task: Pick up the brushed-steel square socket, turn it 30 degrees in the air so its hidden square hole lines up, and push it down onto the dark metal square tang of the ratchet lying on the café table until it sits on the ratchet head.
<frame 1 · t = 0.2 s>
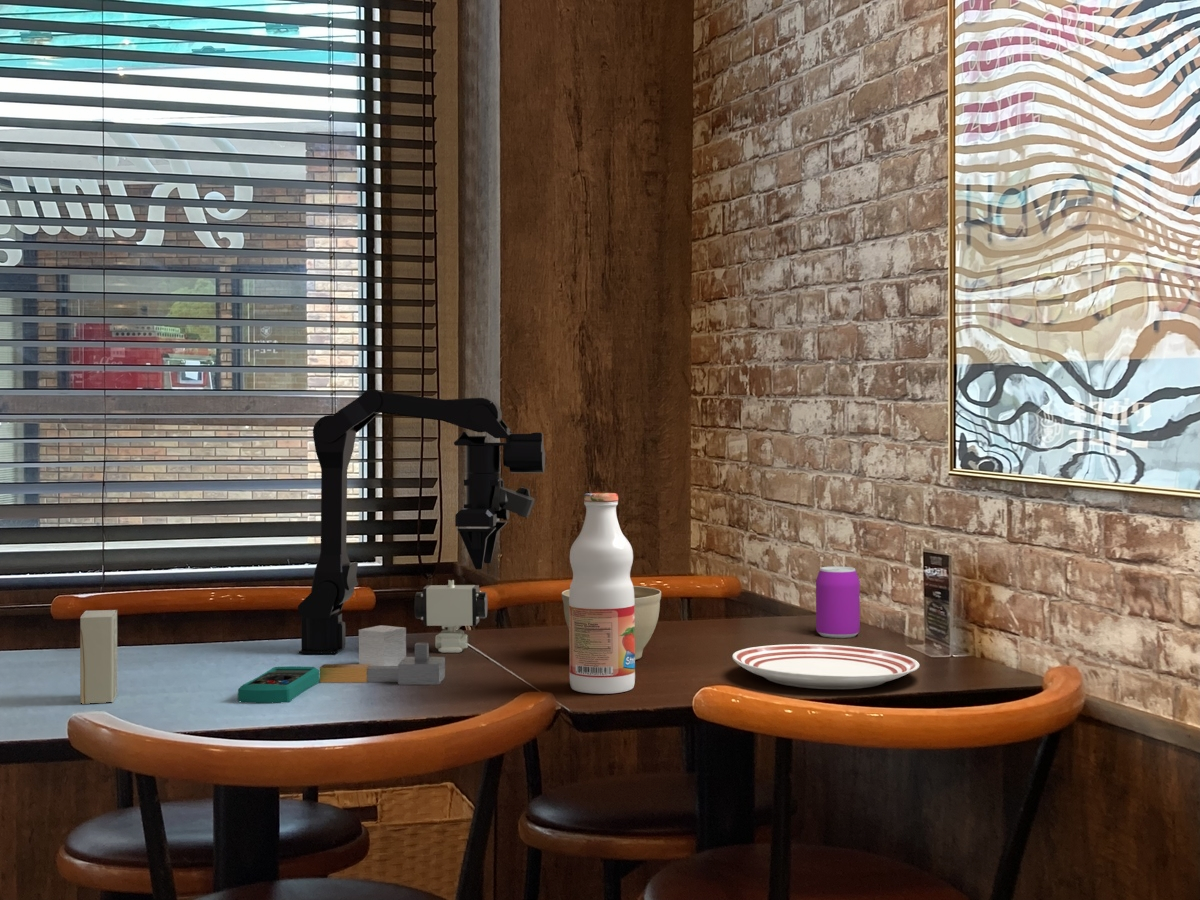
hand: (483, 566, 216), 14 cm above the table, fingers open, 9 cm apart
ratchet: (421, 680, 192), on the table
pneumatic valve: (452, 652, 217), on the table
digital multimeter: (280, 696, 184), on the table
fruit juice: (602, 689, 185), on the table
skincare box: (99, 701, 180), on the table
planter bowl: (611, 659, 209), on the table
dinner plate: (824, 679, 192), on the table
socket: (382, 666, 203), on the table
beverage can: (837, 636, 230), on the table
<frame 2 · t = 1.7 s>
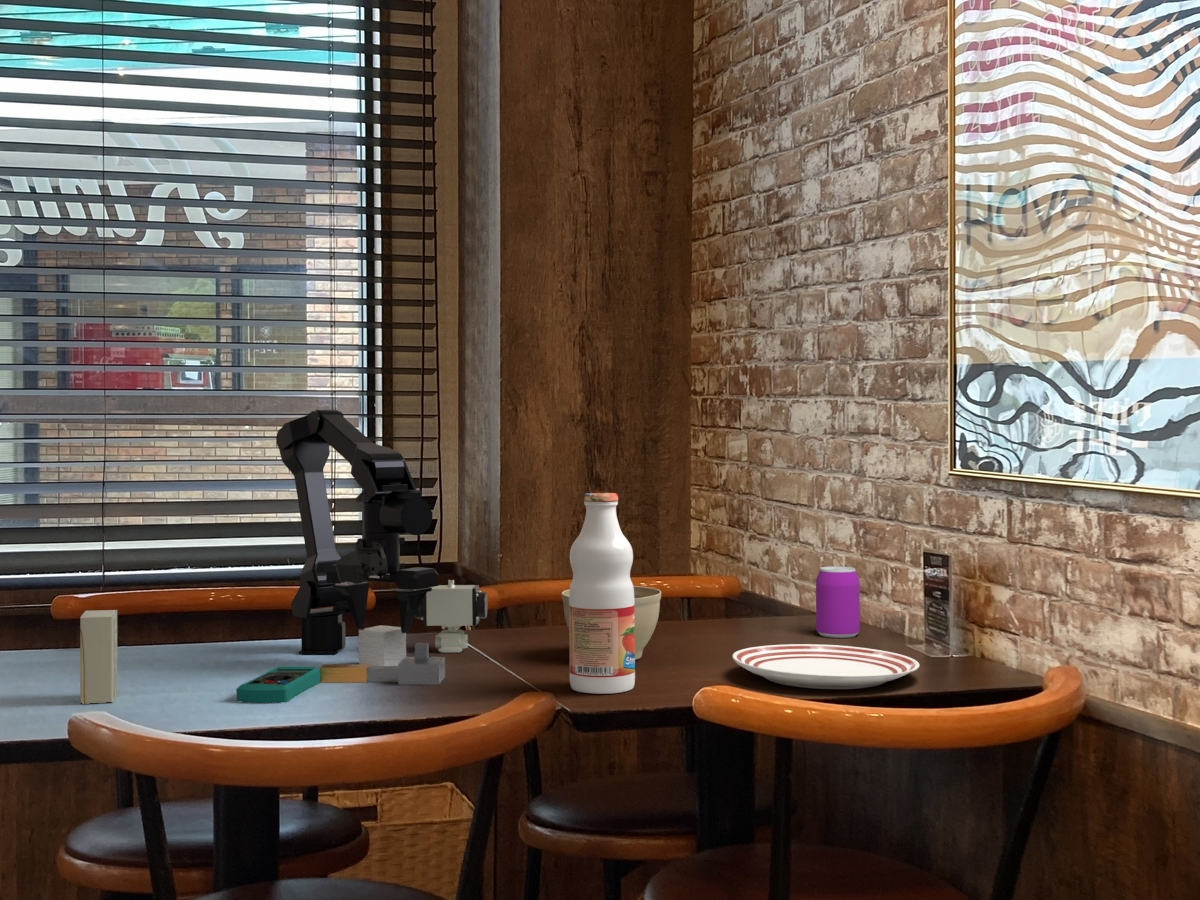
hand: (381, 630, 203), 6 cm above the table, fingers open, 9 cm apart
nothing on the table moved.
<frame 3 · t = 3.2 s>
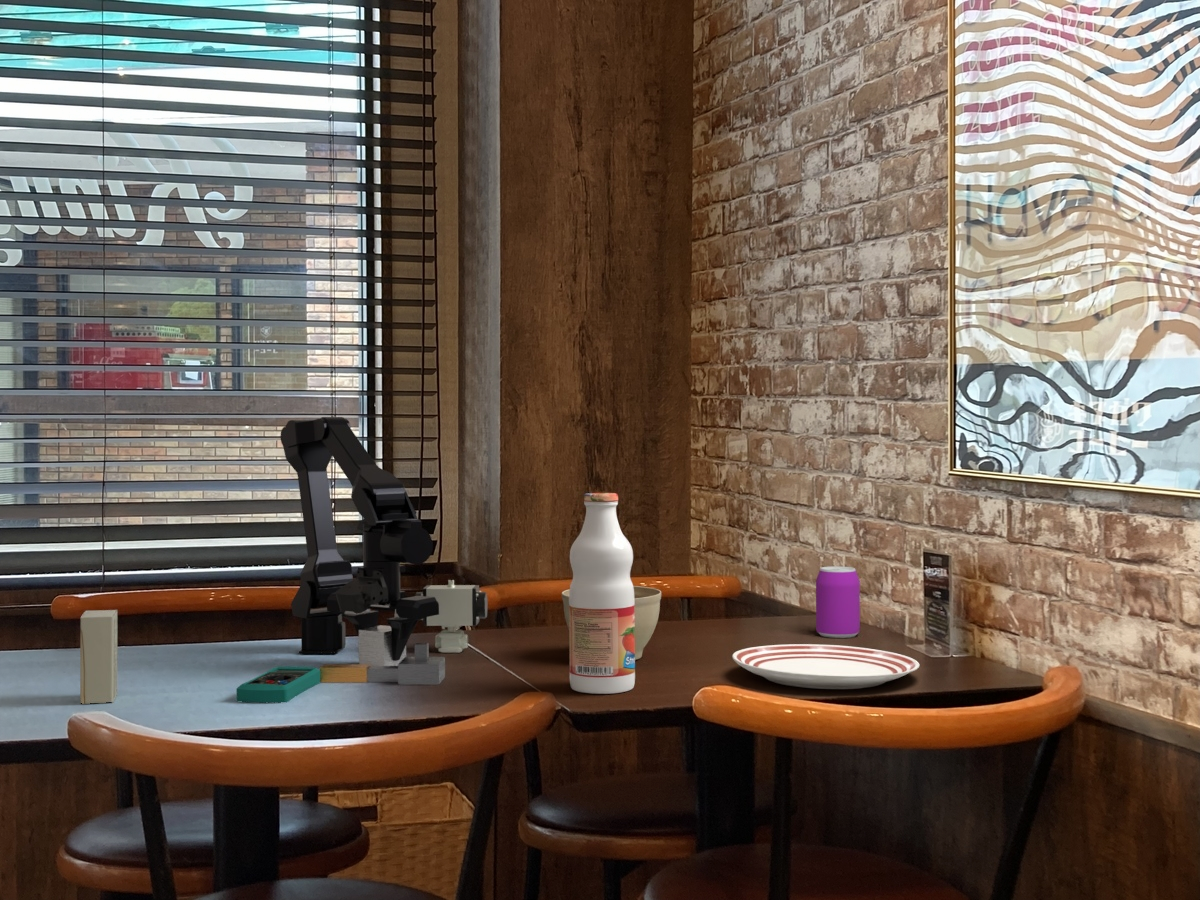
hand: (382, 659, 203), 1 cm above the table, fingers closed on socket, 5 cm apart
socket: (382, 666, 203), on the table, touching gripper
everything else where it was.
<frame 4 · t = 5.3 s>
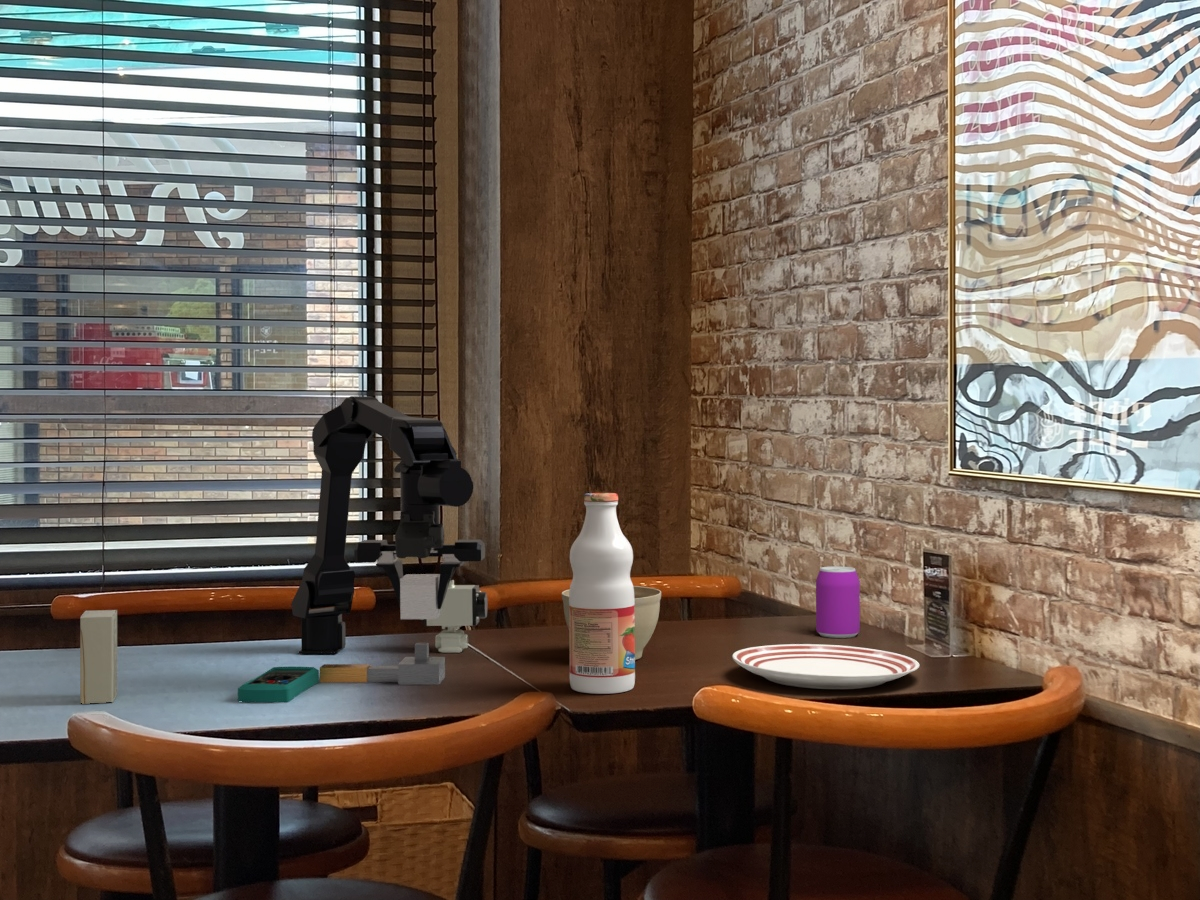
hand: (421, 608, 192), 11 cm above the table, fingers closed on socket, 5 cm apart
socket: (421, 616, 192), point 10 cm above the table, touching gripper
everything else where it was.
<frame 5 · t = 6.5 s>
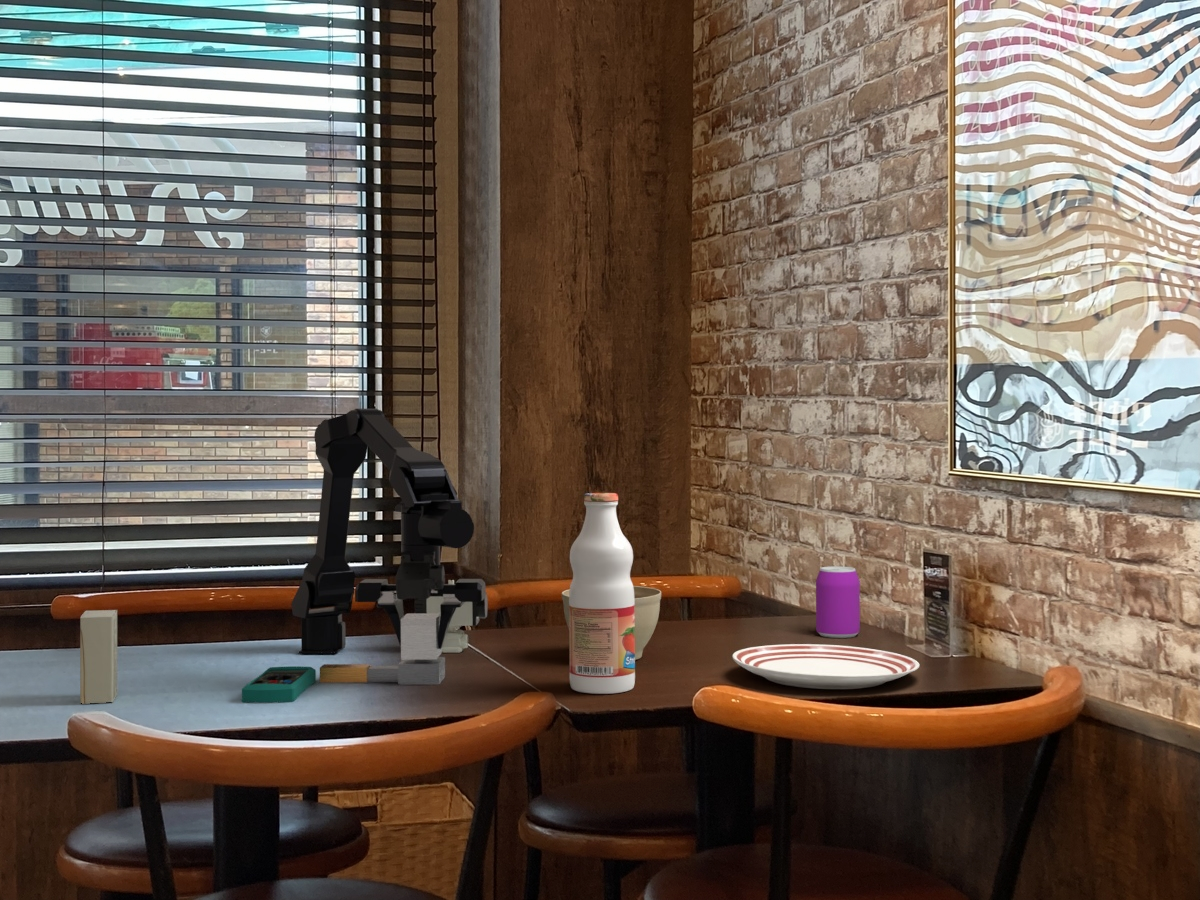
hand: (421, 648, 192), 5 cm above the table, fingers closed on socket, 5 cm apart
socket: (421, 656, 192), point 4 cm above the table, touching gripper
everything else where it was.
when the fingers open (5 cm above the table, at t = 7.3 s): socket stays where it is, resting on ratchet.
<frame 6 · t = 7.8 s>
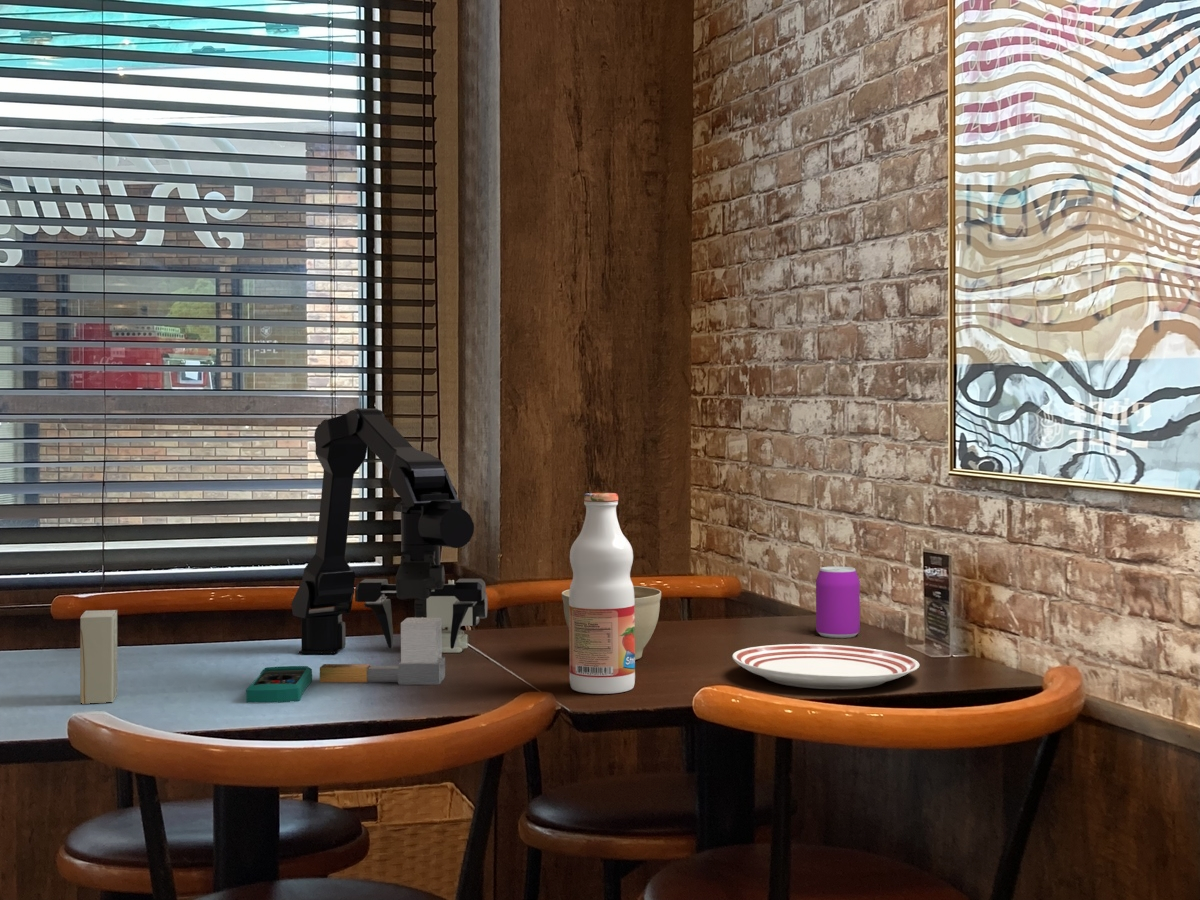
hand: (421, 648, 192), 5 cm above the table, fingers open, 9 cm apart
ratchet: (422, 680, 192), on the table, touching socket
socket: (421, 660, 192), point 3 cm above the table, touching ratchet
everything else where it was.
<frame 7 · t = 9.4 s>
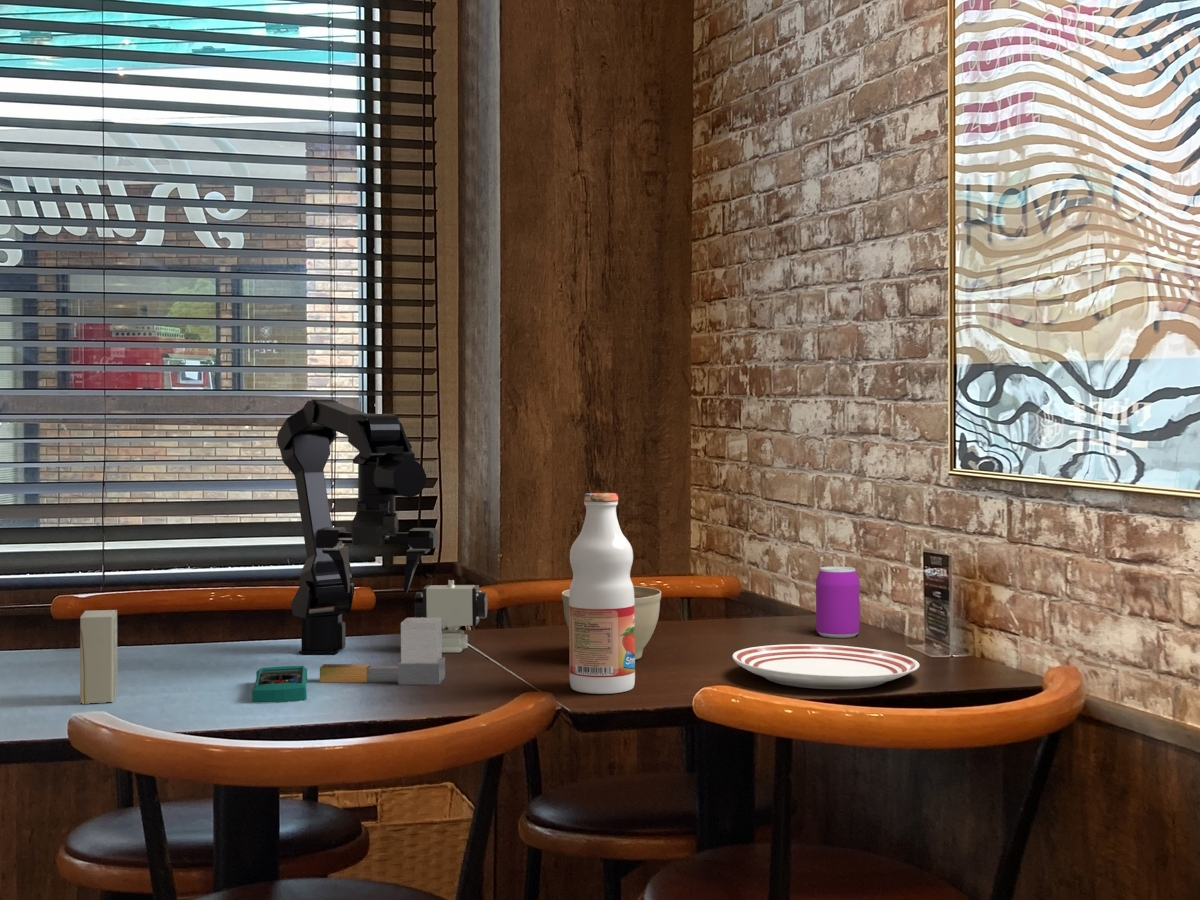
hand: (376, 592, 202), 12 cm above the table, fingers open, 9 cm apart
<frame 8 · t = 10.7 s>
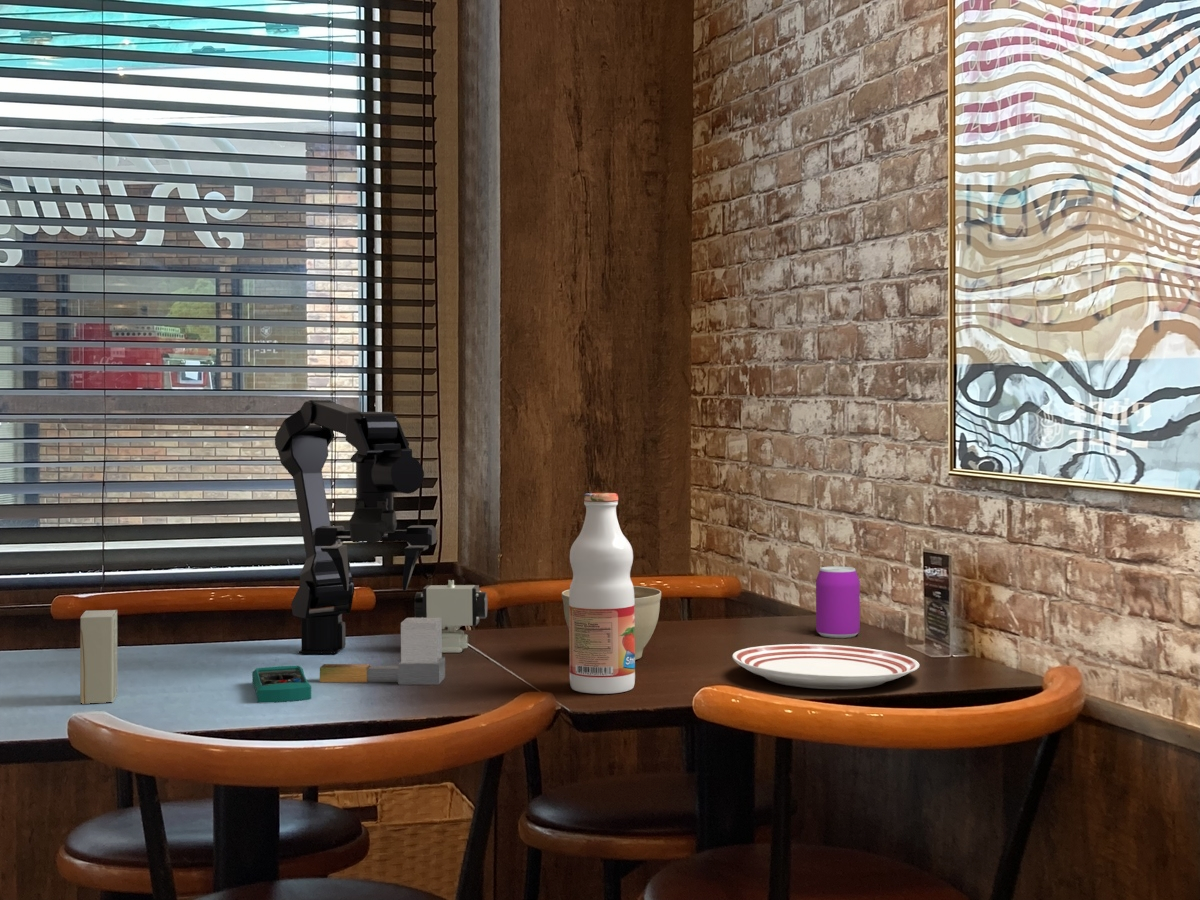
hand: (375, 590, 203), 12 cm above the table, fingers open, 9 cm apart
at the end: socket 0.0 cm off-centre on the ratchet, point 3.0 cm above the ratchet's base; socket tilted 0°; the gripper is holding nothing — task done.
